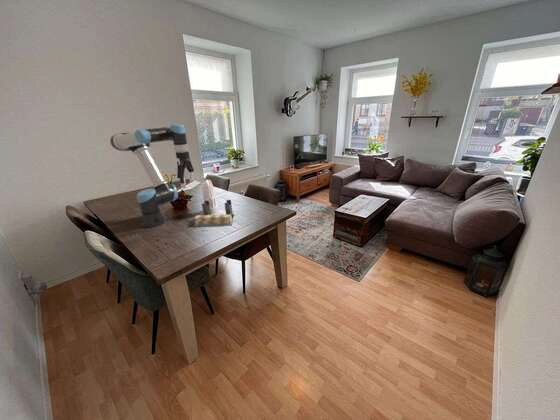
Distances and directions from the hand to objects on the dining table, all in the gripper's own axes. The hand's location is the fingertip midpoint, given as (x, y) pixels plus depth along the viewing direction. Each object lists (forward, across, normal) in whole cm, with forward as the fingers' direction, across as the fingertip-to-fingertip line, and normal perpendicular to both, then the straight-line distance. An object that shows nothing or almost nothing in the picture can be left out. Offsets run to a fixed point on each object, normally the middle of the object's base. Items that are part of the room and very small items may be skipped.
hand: (188, 184), depth 144 cm
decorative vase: (+28, +18, -6) cm, 34 cm away
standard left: (+27, +6, -7) cm, 29 cm away
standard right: (+27, +6, -23) cm, 36 cm away
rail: (+26, -3, -14) cm, 30 cm away
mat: (+27, -3, -14) cm, 31 cm away
